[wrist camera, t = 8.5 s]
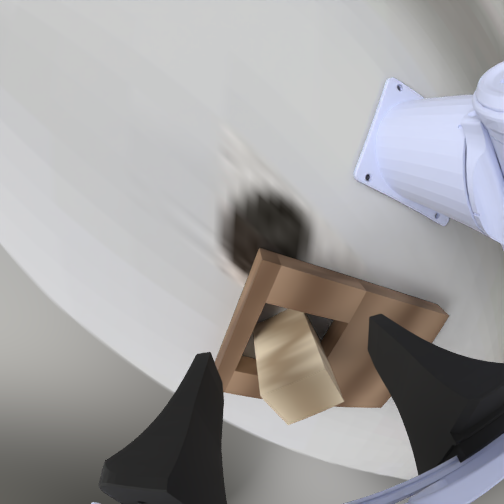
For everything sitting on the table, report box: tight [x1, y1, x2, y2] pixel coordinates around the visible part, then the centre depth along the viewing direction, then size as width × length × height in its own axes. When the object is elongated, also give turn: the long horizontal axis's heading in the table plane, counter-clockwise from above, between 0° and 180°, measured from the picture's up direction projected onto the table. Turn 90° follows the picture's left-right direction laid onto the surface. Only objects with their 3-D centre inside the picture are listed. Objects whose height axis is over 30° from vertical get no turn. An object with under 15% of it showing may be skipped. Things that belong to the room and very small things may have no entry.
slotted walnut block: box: [215, 248, 449, 408], centre depth 22 cm, size 18×12×2 cm, turn 70°
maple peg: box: [253, 309, 344, 425], centre depth 18 cm, size 4×4×7 cm
